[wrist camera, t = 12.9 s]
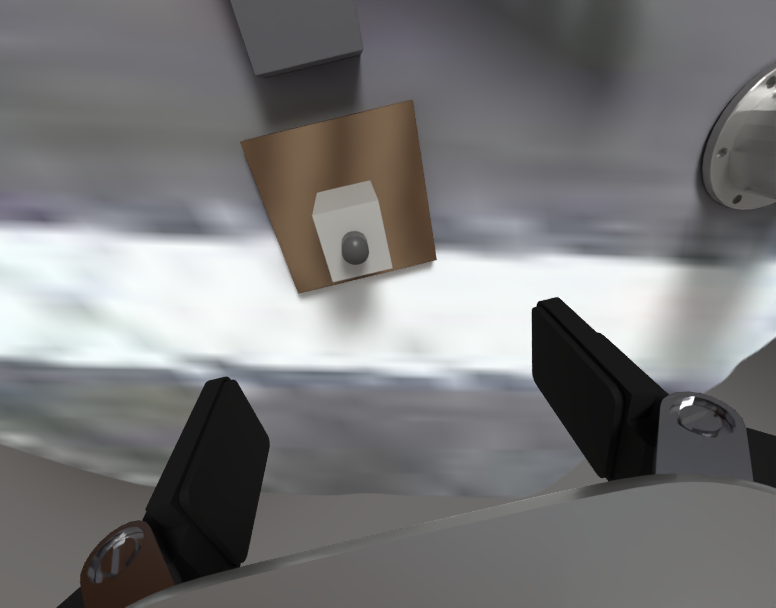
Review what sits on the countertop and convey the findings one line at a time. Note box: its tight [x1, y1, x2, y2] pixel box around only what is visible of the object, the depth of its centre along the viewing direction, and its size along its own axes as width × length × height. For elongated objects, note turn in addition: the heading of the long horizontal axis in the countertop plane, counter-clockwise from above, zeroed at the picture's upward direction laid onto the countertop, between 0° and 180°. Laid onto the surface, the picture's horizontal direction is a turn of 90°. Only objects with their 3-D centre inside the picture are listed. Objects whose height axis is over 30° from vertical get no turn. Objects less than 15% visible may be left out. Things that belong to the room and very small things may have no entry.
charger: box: [312, 180, 392, 282], centre depth 25 cm, size 4×4×10 cm
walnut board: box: [240, 100, 437, 294], centre depth 30 cm, size 13×13×1 cm
